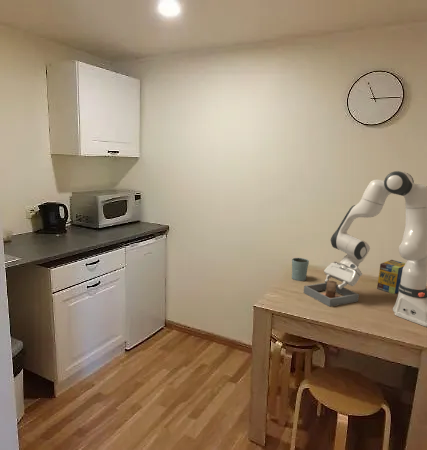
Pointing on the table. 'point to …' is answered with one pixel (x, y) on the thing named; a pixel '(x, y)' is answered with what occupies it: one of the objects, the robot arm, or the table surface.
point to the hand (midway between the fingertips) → (332, 285)
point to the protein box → (390, 276)
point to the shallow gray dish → (347, 298)
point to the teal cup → (299, 269)
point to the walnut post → (331, 289)
